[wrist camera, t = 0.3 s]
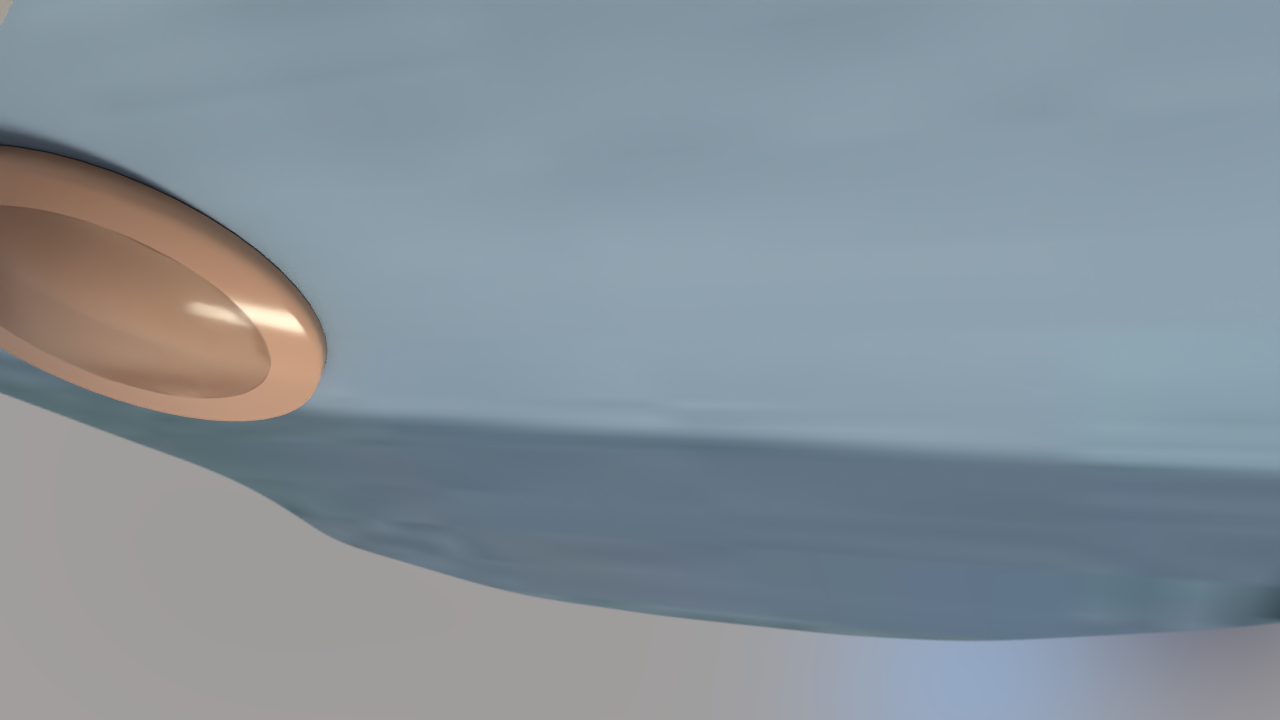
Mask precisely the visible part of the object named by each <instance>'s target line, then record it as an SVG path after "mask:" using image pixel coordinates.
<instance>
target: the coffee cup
mask: <svg viewBox="0 0 1280 720" xmlns="http://www.w3.org/2000/svg"><path fill="white" fill-rule="evenodd" d="M13 1H14V0H0V26H1V24H2V22H3V20H4V18H5V16H6V14H7V12H8V11H9V9H10V7H11V5H12V3H13Z"/></svg>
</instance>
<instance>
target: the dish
mask: <svg viewBox="0 0 1280 720" xmlns="http://www.w3.org/2000/svg"><path fill="white" fill-rule="evenodd" d="M0 348H2V349H4V350H5V351H7V352H9V353H11V354H12V355H14V356H16V357H18V358H20V359H22V360H24V361H26V362H28V363H30V364H32V365H34V366H35V367H37V368H39V369H42V370H44V371H46V372H48V373H50V374H52V375H55V376H57V377H59V378H61V379H63V380H66V381H68V382H71V383H73V384H76V385H78V386H81V387H83V388H86V389H88V390H91V391H94V392H96V393H99V394H102V395H105V396H108V397H110V398H113V399H117V400H120V401H123V402H126V403H130V404H133V405H136V406H140V407H144V408H148V409H152V410H156V411H160V412H164V413H169V414H174V415H180V416H185V417H192V418H199V419H206V420H219V421H252V420H262V419H268V418H273V417H277V416H281V415H284V414H286V413H289V412H291V411H294V410H295V409H297V408H299V407H300V406H302V405H303V404H305V403H306V402H307V401H308V399H309V398H310V397H311V396H312V395H313V393H314V391H315V389H316V387H317V385H318V382H319V379H320V377H321V374H322V372H323V369H324V367H325V364H326V359H327V344H326V337H325V334H324V332H323V329H322V326H321V323H320V321H319V320H318V318H317V316H316V314H315V313H314V311H313V309H312V307H311V306H310V304H309V303H308V302H307V301H306V299H305V298H304V297H303V295H302V294H301V293H300V291H299V290H298V289H297V288H296V287H295V286H294V285H293V284H292V283H291V282H290V281H289V279H288V278H287V277H286V276H285V275H284V274H283V273H282V272H281V271H280V270H279V269H277V268H276V267H275V266H274V265H273V264H272V263H271V262H269V261H268V260H267V259H266V258H265V257H264V256H263V255H261V254H260V253H259V252H258V251H256V250H255V249H254V248H252V247H251V246H250V245H248V244H247V243H246V242H244V241H243V240H242V239H240V238H239V237H238V236H236V235H235V234H233V233H232V232H230V231H229V230H227V229H226V228H224V227H222V226H221V225H219V224H218V223H216V222H215V221H213V220H211V219H210V218H208V217H207V216H205V215H203V214H201V213H199V212H198V211H196V210H194V209H192V208H190V207H189V206H187V205H185V204H183V203H181V202H180V201H178V200H176V199H174V198H172V197H169V196H167V195H165V194H163V193H161V192H159V191H157V190H155V189H153V188H151V187H148V186H146V185H144V184H141V183H139V182H137V181H134V180H132V179H129V178H127V177H124V176H122V175H119V174H117V173H114V172H111V171H108V170H105V169H102V168H99V167H96V166H93V165H90V164H87V163H84V162H81V161H78V160H74V159H70V158H66V157H62V156H59V155H55V154H51V153H47V152H41V151H36V150H30V149H25V148H19V147H11V146H0Z"/></svg>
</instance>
